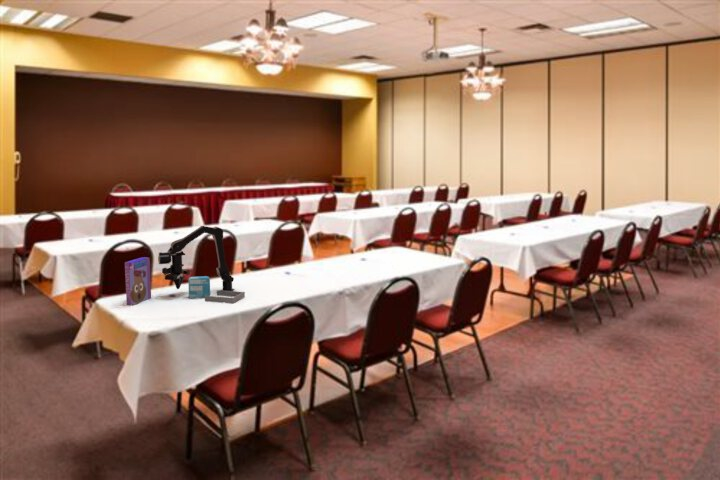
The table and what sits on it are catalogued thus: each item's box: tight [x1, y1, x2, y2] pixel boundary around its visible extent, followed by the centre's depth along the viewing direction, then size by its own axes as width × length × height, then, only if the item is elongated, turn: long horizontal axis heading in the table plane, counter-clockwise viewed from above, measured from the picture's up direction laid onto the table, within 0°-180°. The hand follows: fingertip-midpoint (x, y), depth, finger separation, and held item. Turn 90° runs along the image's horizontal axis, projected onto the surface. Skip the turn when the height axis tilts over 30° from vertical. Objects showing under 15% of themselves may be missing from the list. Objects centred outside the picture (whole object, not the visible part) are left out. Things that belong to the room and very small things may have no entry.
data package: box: [187, 275, 211, 299], centre depth 355 cm, size 12×4×12 cm, turn 107°
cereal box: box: [124, 256, 152, 306], centre depth 343 cm, size 17×5×24 cm, turn 168°
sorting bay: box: [204, 289, 246, 304], centre depth 351 cm, size 15×18×3 cm
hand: (178, 288), depth 358 cm, fingers closed
